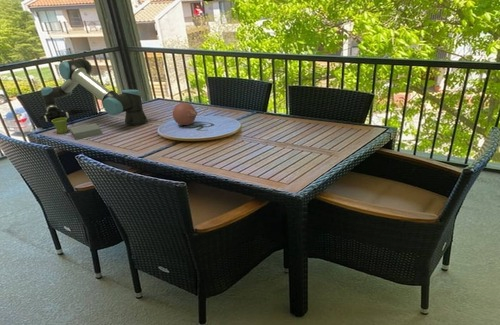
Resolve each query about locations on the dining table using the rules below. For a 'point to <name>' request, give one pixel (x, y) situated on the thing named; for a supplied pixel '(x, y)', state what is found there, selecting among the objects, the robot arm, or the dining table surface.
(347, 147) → the dining table surface
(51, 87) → the robot arm
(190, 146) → the dining table surface
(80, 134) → the block
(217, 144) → the dining table surface
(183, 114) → the brown egg-shaped ball
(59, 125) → the plant pot
